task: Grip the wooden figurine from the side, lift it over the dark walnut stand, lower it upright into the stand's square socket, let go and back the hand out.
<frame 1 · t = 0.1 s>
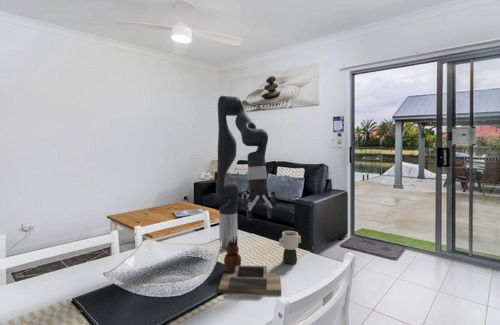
hand: (260, 219, 113), 22 cm above the table, tool pointing down, fingers open, 8 cm apart
socket stand: (250, 285, 105), on the table
character mug: (289, 262, 126), on the table
wooden figurine: (232, 272, 117), on the table
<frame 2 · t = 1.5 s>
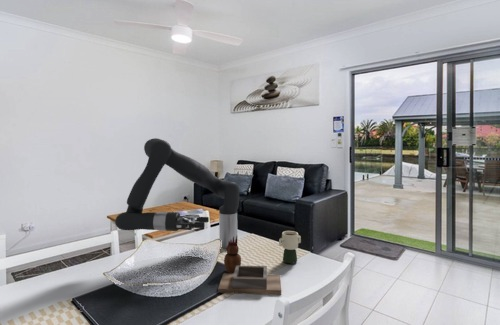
hand: (206, 222, 116), 20 cm above the table, tool horizontal, fingers open, 8 cm apart
nothing on the table moved.
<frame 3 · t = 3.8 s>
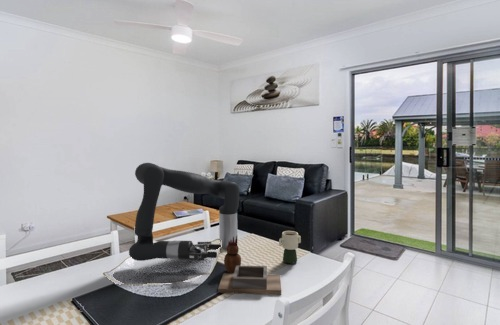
hand: (218, 250, 117), 9 cm above the table, tool horizontal, fingers open, 8 cm apart
nothing on the table moved.
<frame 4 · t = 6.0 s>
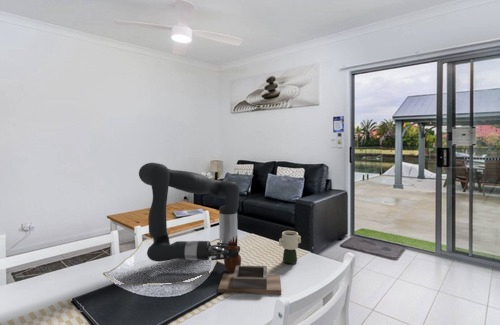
hand: (239, 251, 116), 9 cm above the table, tool horizontal, fingers closed on wooden figurine, 4 cm apart
wooden figurine: (232, 272, 117), on the table, touching gripper
everything else where it was.
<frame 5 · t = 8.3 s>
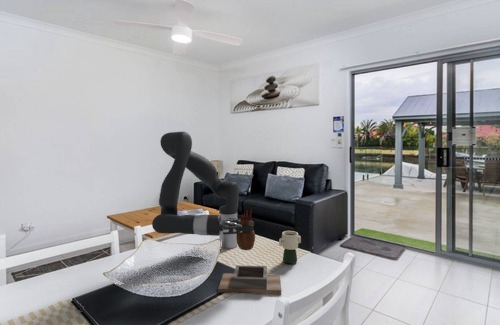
hand: (253, 226, 105), 22 cm above the table, tool horizontal, fingers closed on wooden figurine, 4 cm apart
wooden figurine: (245, 249, 106), point 13 cm above the table, touching gripper
everything else where it was.
when the fingers open (11 cm above the table, at t = 10.7 s): wooden figurine stays where it is, resting on socket stand.
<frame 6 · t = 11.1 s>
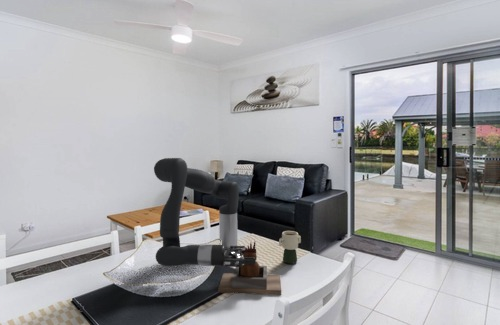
hand: (255, 256, 104), 11 cm above the table, tool horizontal, fingers open, 8 cm apart
wooden figurine: (250, 281, 105), point 1 cm above the table, touching socket stand
everything else where it was.
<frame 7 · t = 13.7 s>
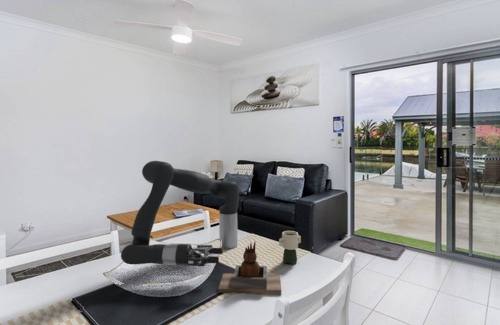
hand: (220, 255, 105), 11 cm above the table, tool horizontal, fingers open, 8 cm apart
nothing on the table moved.
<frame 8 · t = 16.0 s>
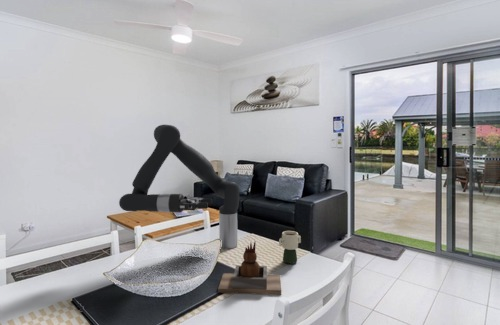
hand: (209, 203, 116), 28 cm above the table, tool horizontal, fingers open, 8 cm apart
nothing on the table moved.
at the end: wooden figurine 0.2 cm off-centre on the socket stand, point 1.3 cm above the socket stand's base; wooden figurine tilted 0°; the gripper is holding nothing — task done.
